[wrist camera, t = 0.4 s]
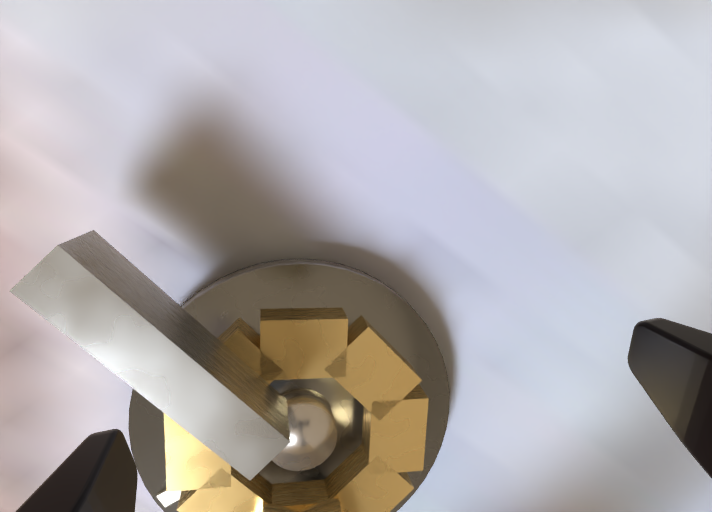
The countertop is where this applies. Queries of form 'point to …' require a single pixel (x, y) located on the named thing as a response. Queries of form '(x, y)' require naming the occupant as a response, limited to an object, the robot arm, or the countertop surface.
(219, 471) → the tan curved piece
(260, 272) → the round metal dish
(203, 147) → the countertop surface
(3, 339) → the countertop surface
